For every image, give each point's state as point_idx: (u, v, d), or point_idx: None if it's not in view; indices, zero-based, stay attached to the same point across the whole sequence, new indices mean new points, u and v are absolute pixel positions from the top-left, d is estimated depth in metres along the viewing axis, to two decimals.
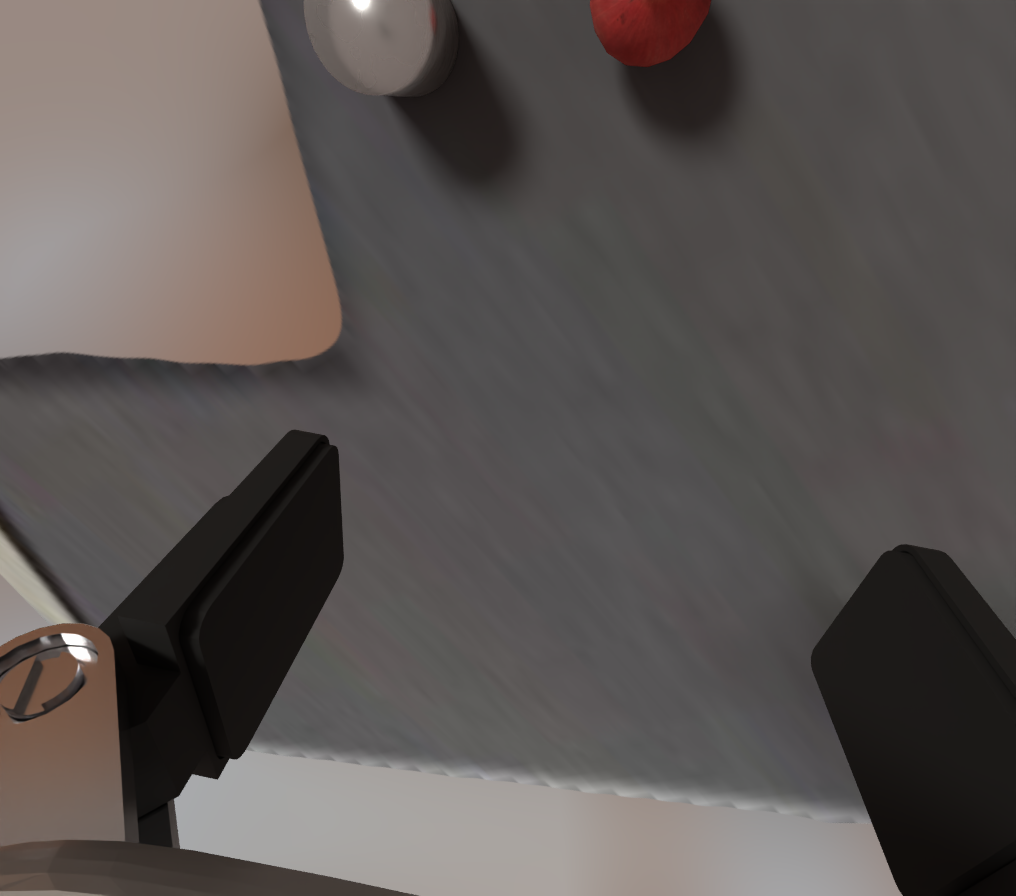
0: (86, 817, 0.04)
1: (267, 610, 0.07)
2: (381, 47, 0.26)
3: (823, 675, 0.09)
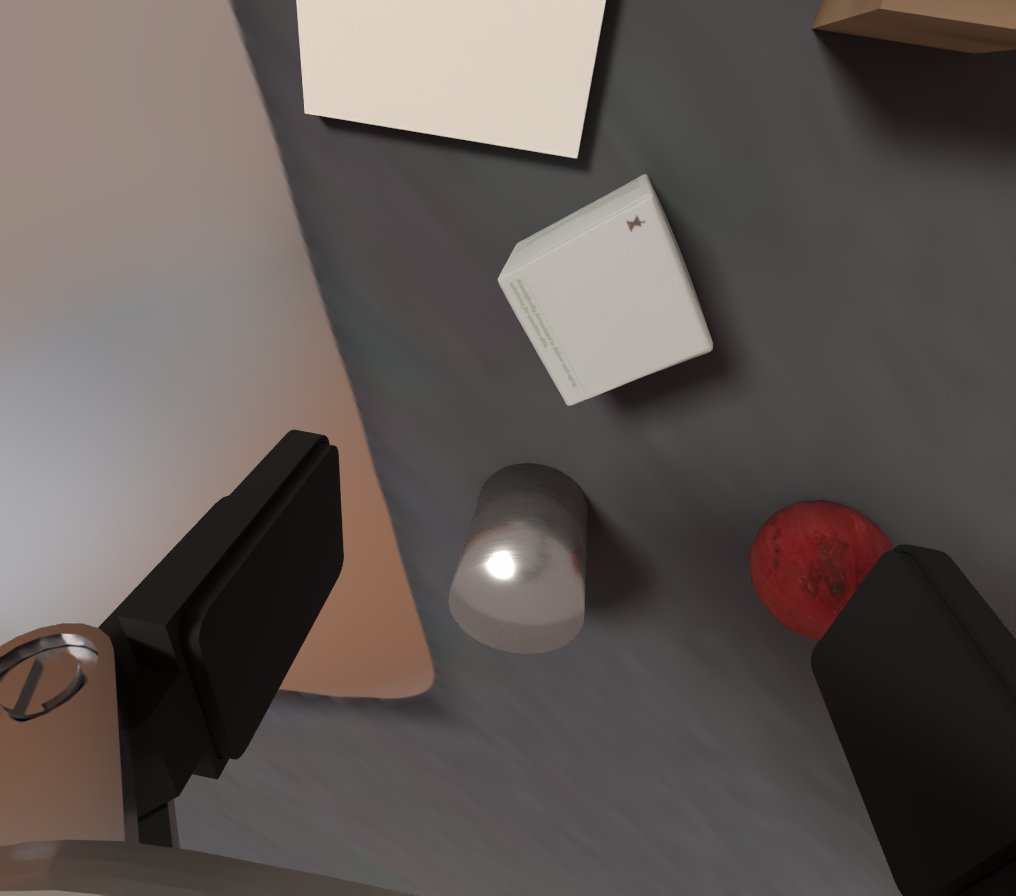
0: (86, 816, 0.04)
1: (267, 610, 0.07)
2: (529, 628, 0.24)
3: (823, 675, 0.09)
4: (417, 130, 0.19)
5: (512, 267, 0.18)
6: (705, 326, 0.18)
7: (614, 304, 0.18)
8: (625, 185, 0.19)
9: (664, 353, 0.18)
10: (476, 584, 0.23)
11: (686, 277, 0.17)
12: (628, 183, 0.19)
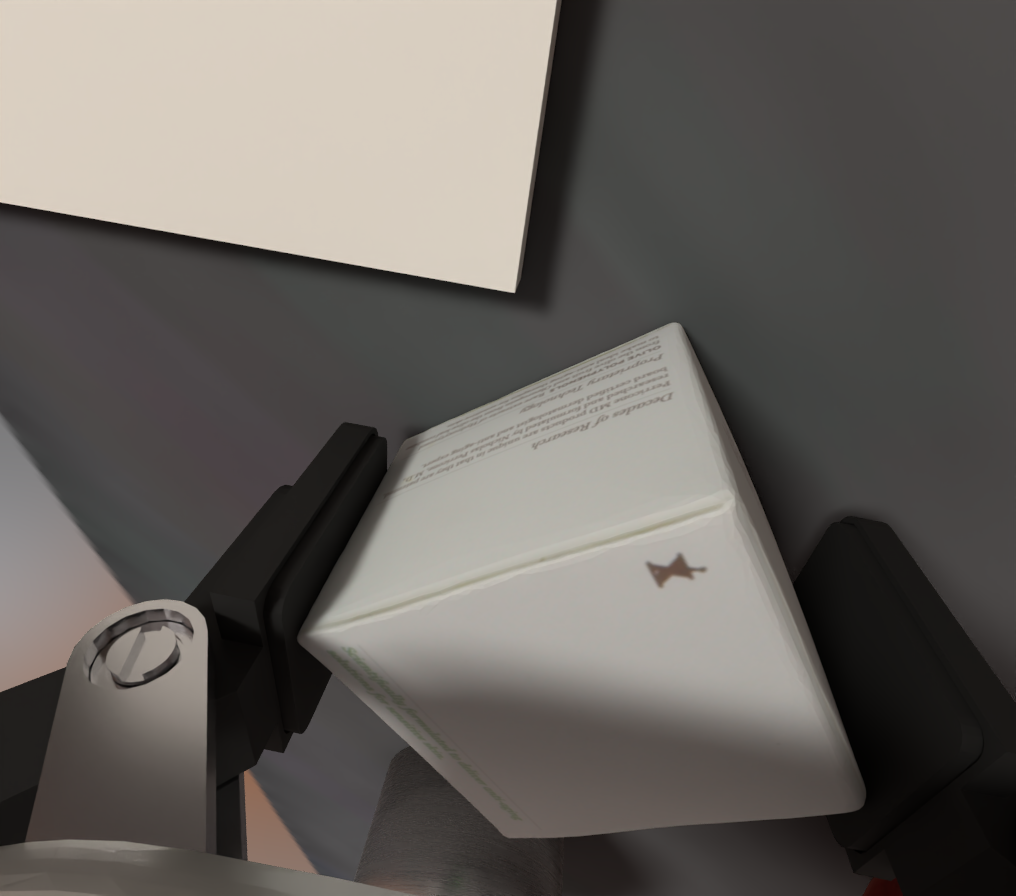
0: (173, 789, 0.04)
1: None
2: None
3: None
4: (137, 223, 0.08)
5: (334, 606, 0.07)
6: (853, 766, 0.07)
7: (609, 720, 0.06)
8: (631, 354, 0.08)
9: (738, 805, 0.07)
10: None
11: (815, 676, 0.06)
12: (638, 348, 0.08)
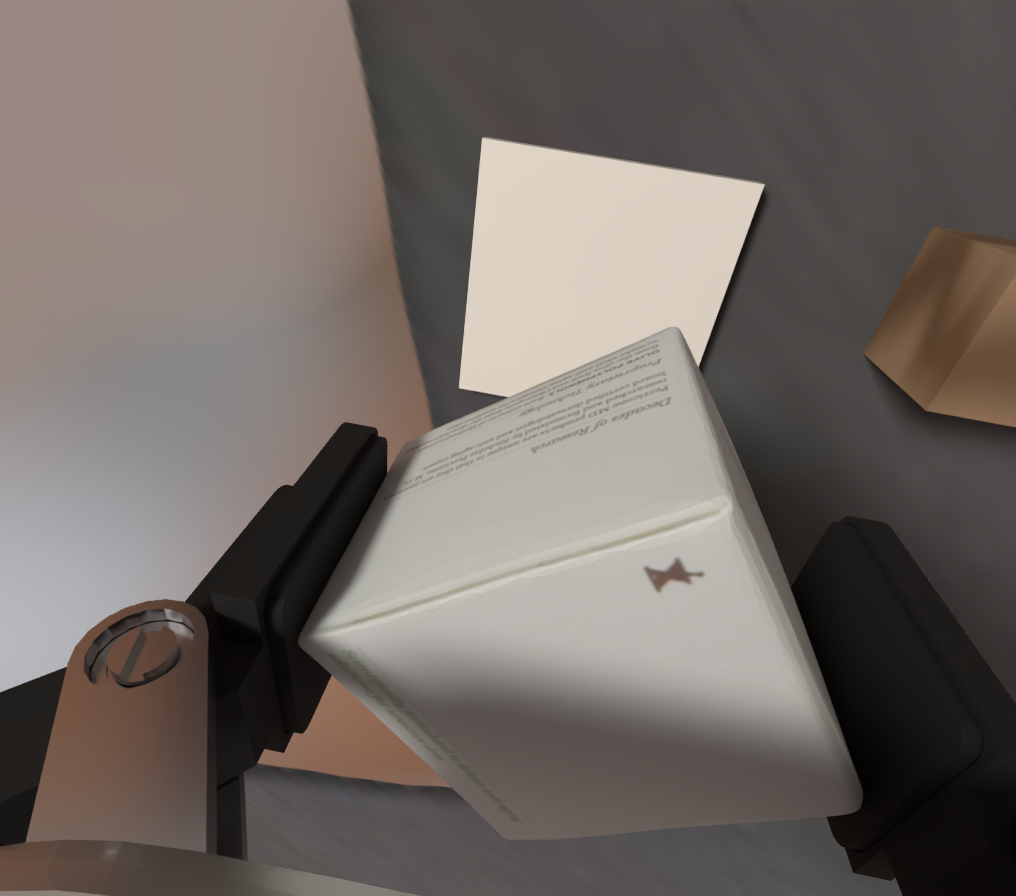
0: (174, 789, 0.04)
1: None
2: None
3: None
4: None
5: (335, 610, 0.07)
6: (850, 769, 0.07)
7: (608, 722, 0.06)
8: (630, 358, 0.08)
9: (736, 807, 0.07)
10: None
11: (812, 679, 0.06)
12: (637, 351, 0.08)
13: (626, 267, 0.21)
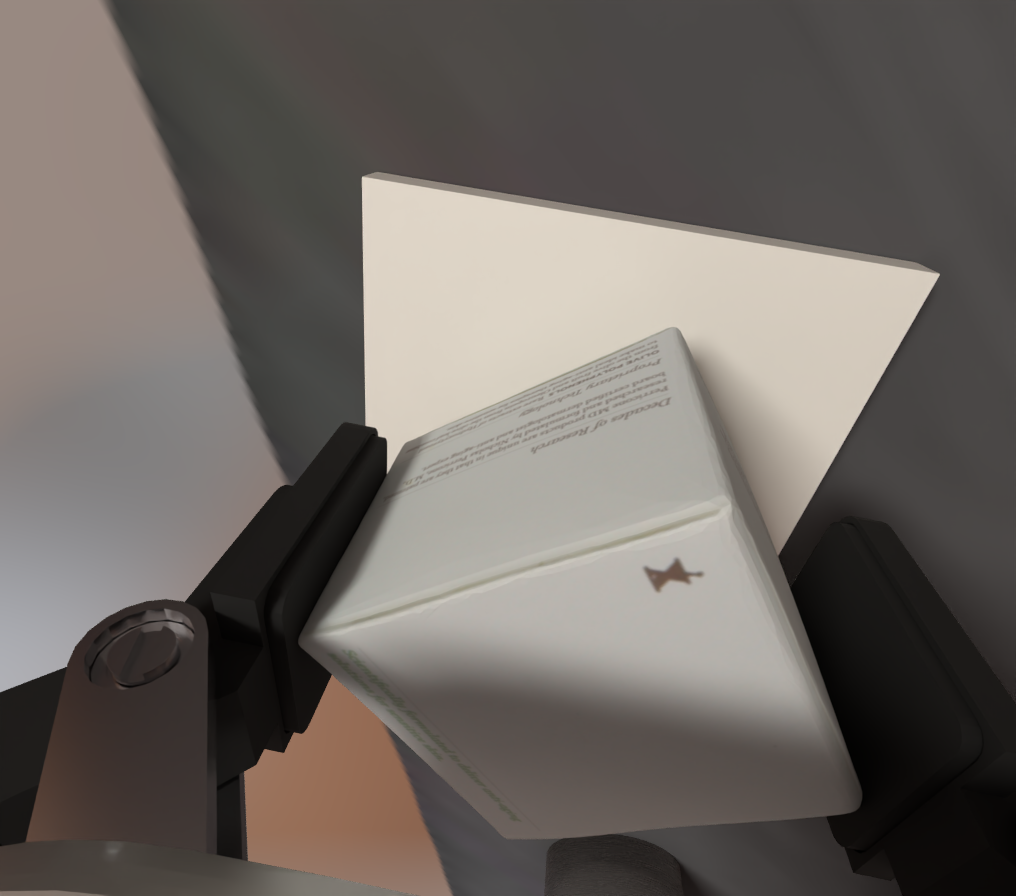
0: (174, 789, 0.04)
1: None
2: None
3: None
4: None
5: (335, 609, 0.07)
6: (849, 768, 0.07)
7: (608, 722, 0.06)
8: (630, 358, 0.08)
9: (735, 806, 0.07)
10: None
11: (812, 679, 0.06)
12: (636, 352, 0.08)
13: None
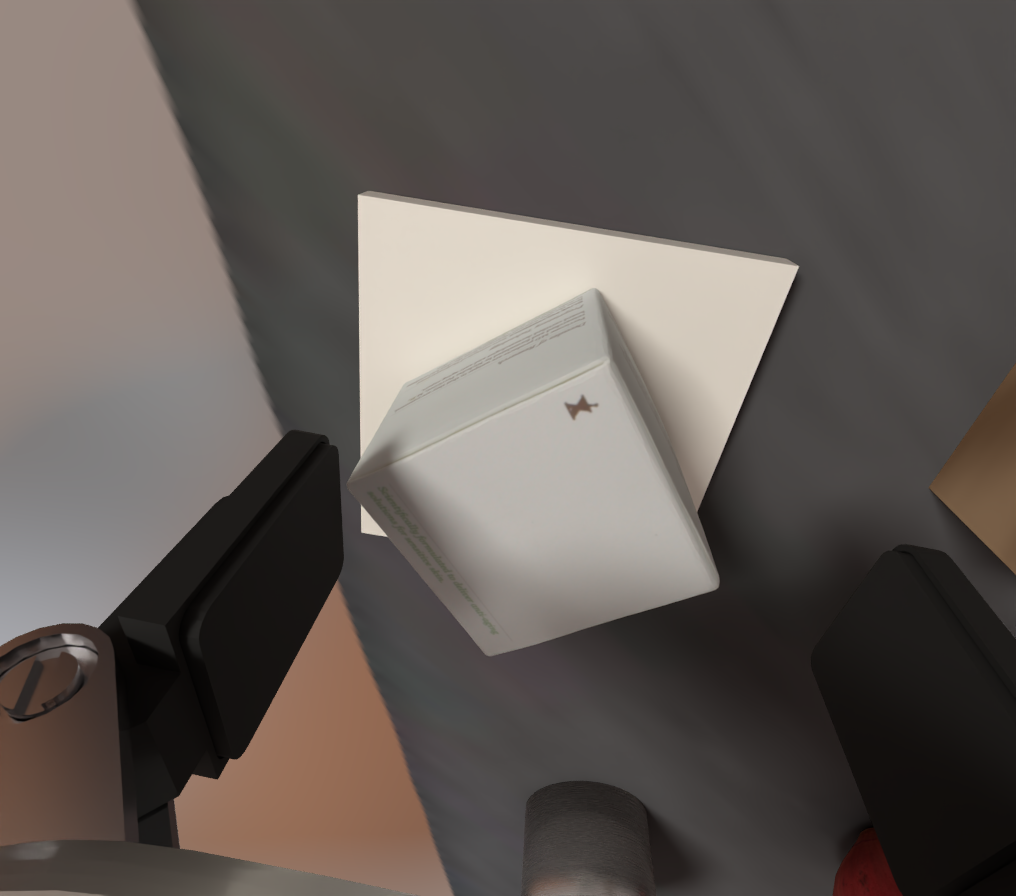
0: (86, 817, 0.04)
1: (267, 610, 0.07)
2: None
3: (823, 675, 0.09)
4: None
5: (371, 463, 0.10)
6: (707, 555, 0.10)
7: (552, 527, 0.10)
8: (564, 308, 0.12)
9: (639, 594, 0.11)
10: None
11: (673, 485, 0.10)
12: (569, 304, 0.12)
13: None
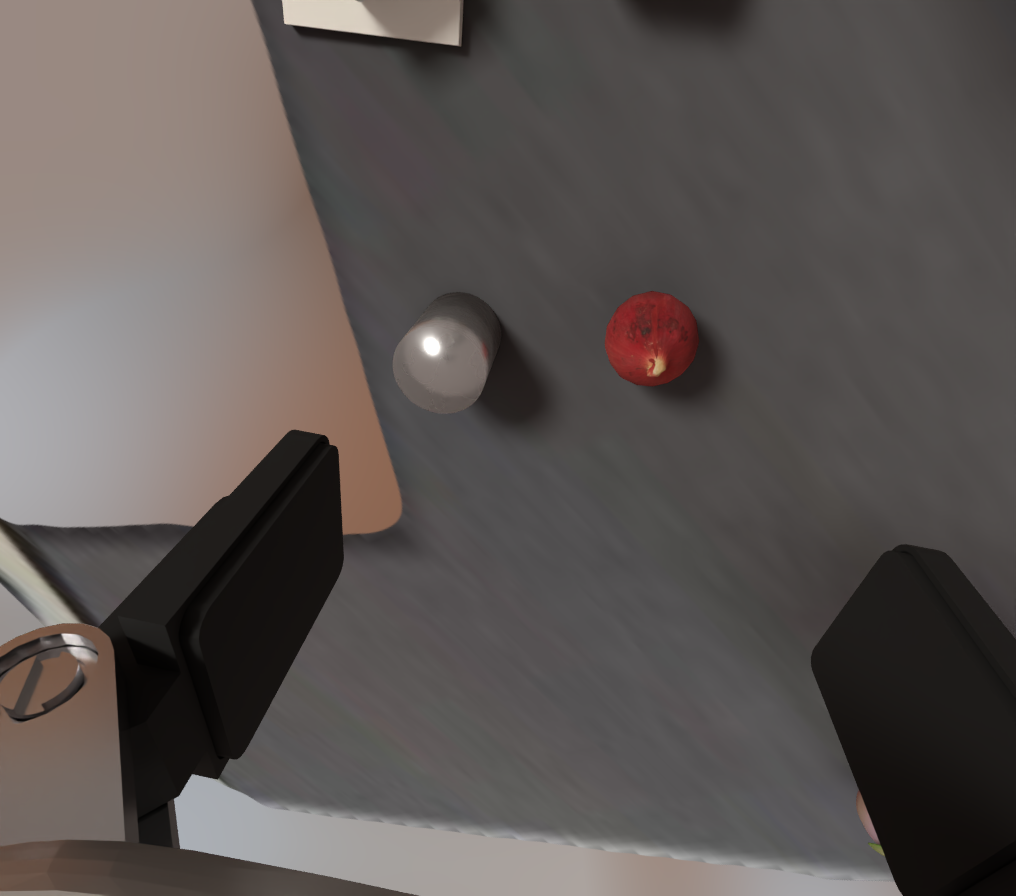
0: (86, 816, 0.04)
1: (267, 610, 0.07)
2: (449, 388, 0.34)
3: (823, 675, 0.09)
4: (356, 31, 0.30)
5: None
6: None
7: None
8: None
9: None
10: (410, 350, 0.33)
11: None
12: None
13: None
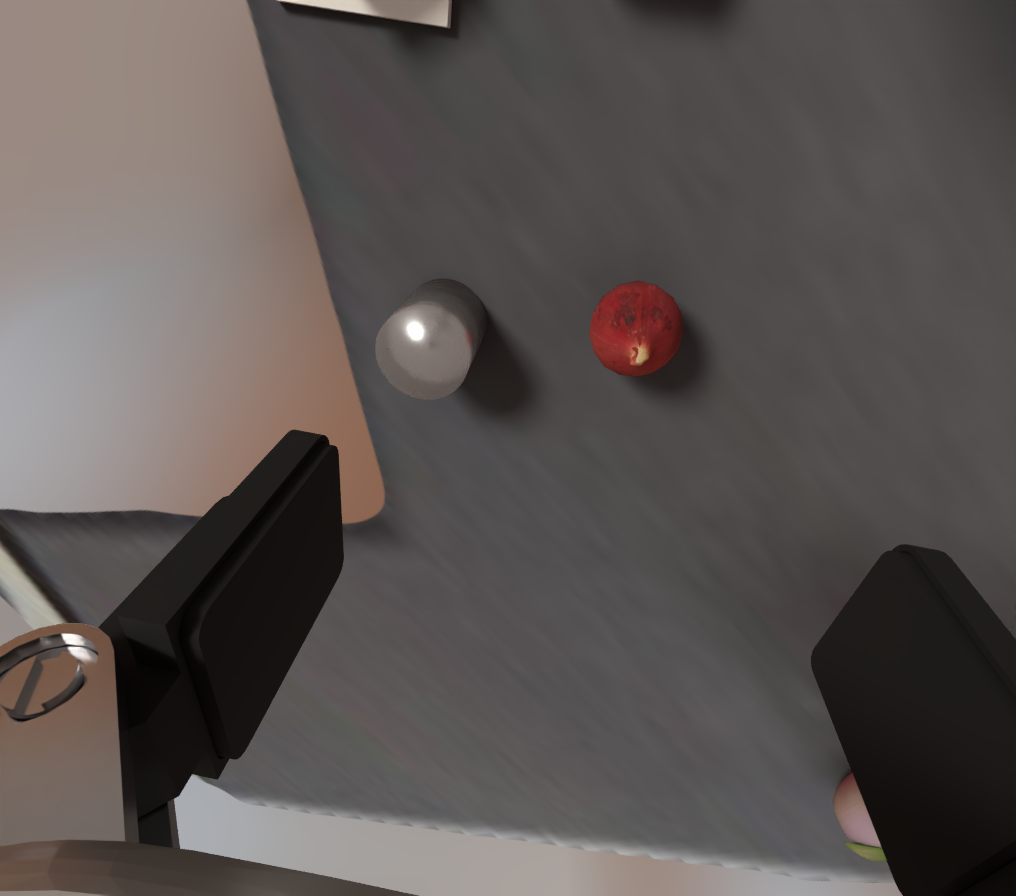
0: (86, 817, 0.04)
1: (267, 610, 0.07)
2: (432, 373, 0.34)
3: (823, 675, 0.09)
4: (344, 9, 0.30)
5: None
6: None
7: None
8: None
9: None
10: (393, 334, 0.33)
11: None
12: None
13: None
